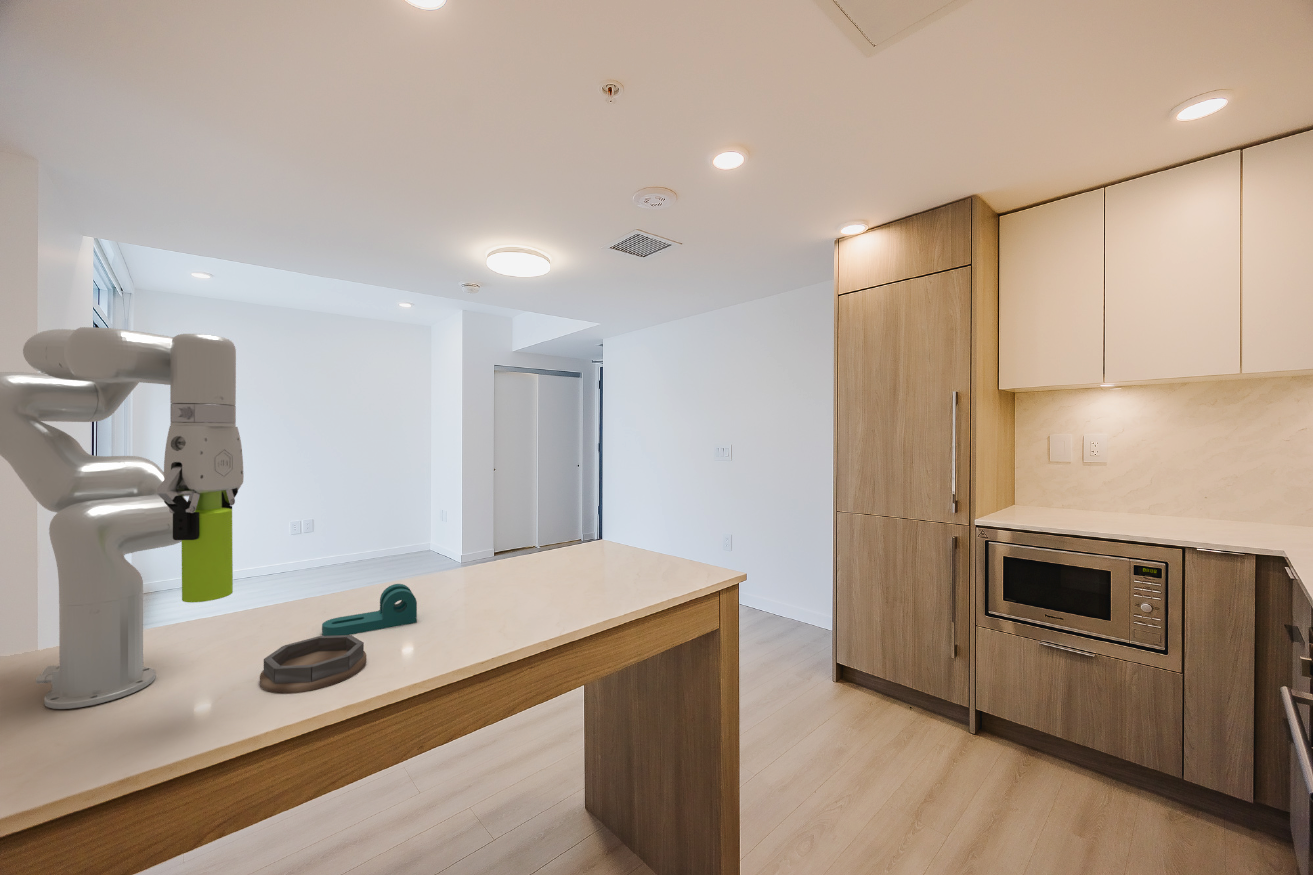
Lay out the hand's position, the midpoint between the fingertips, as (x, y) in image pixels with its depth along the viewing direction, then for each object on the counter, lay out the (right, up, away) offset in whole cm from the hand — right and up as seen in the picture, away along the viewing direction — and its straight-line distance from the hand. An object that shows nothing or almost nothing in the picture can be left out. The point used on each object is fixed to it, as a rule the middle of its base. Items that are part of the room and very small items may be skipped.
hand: (203, 533), depth 79 cm
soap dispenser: (0, -10, 0) cm, 10 cm away
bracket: (+5, -28, +36) cm, 46 cm away
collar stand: (+8, -27, +14) cm, 32 cm away
